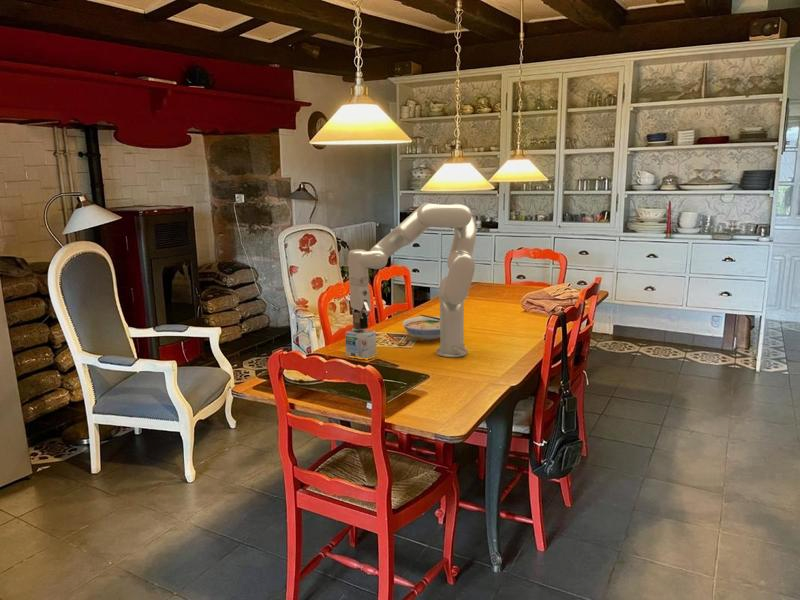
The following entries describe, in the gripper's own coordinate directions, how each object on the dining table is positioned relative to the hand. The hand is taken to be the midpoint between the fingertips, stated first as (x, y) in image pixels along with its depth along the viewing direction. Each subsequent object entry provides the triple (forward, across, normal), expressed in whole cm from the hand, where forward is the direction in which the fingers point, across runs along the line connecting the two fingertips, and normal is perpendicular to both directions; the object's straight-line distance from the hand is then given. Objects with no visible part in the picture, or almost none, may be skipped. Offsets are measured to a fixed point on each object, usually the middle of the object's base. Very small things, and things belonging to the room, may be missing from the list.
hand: (360, 325), depth 235 cm
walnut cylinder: (+1, 0, 0) cm, 1 cm away
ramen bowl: (+13, +8, -37) cm, 40 cm away
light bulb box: (+13, 0, 0) cm, 13 cm away
